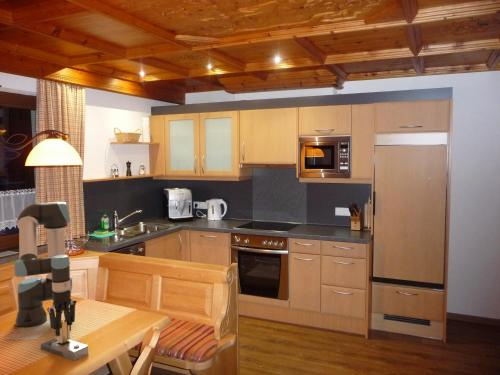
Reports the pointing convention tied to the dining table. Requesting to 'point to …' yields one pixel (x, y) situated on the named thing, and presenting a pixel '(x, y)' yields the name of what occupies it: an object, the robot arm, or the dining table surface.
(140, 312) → the dining table surface
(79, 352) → the riveted square sleeve
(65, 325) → the brass pin
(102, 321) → the dining table surface
